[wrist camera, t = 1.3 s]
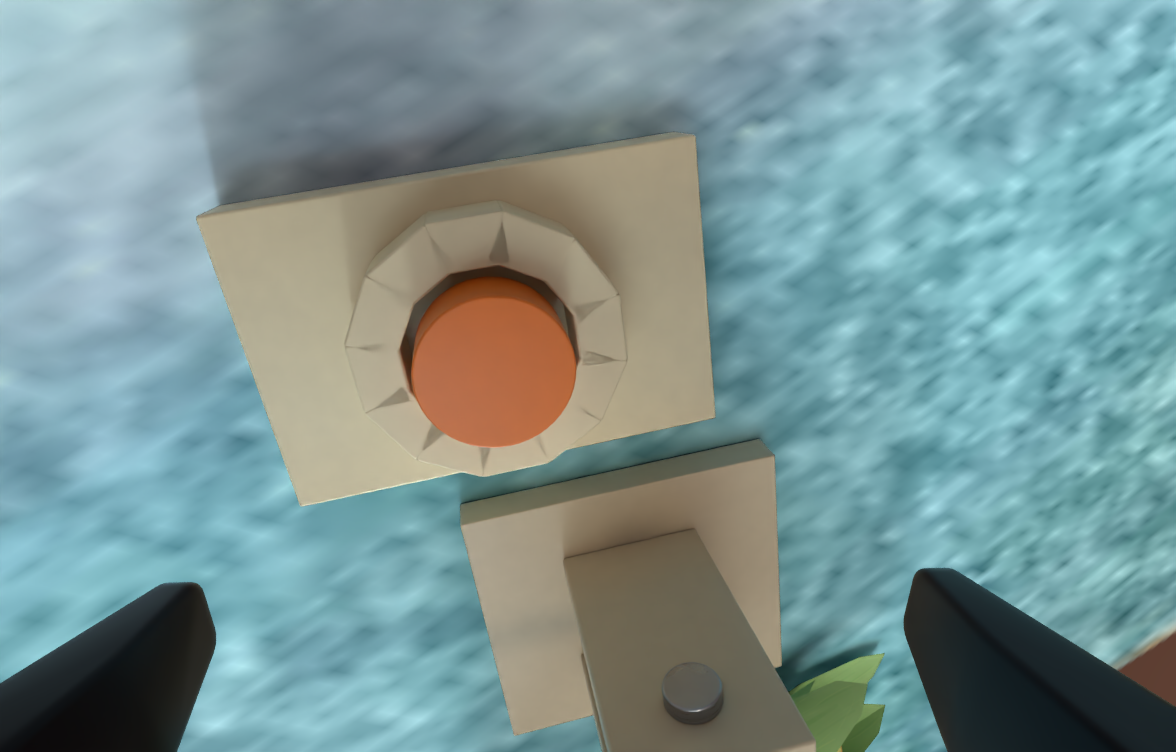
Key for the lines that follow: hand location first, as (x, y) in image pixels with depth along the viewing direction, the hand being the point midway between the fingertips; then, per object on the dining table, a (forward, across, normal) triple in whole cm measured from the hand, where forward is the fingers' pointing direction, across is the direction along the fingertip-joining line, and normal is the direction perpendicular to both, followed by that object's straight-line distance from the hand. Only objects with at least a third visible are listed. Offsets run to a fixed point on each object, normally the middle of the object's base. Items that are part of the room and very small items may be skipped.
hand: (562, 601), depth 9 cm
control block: (+12, +2, 0) cm, 12 cm away
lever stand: (+12, -2, +10) cm, 16 cm away
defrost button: (+9, +2, 0) cm, 9 cm away
